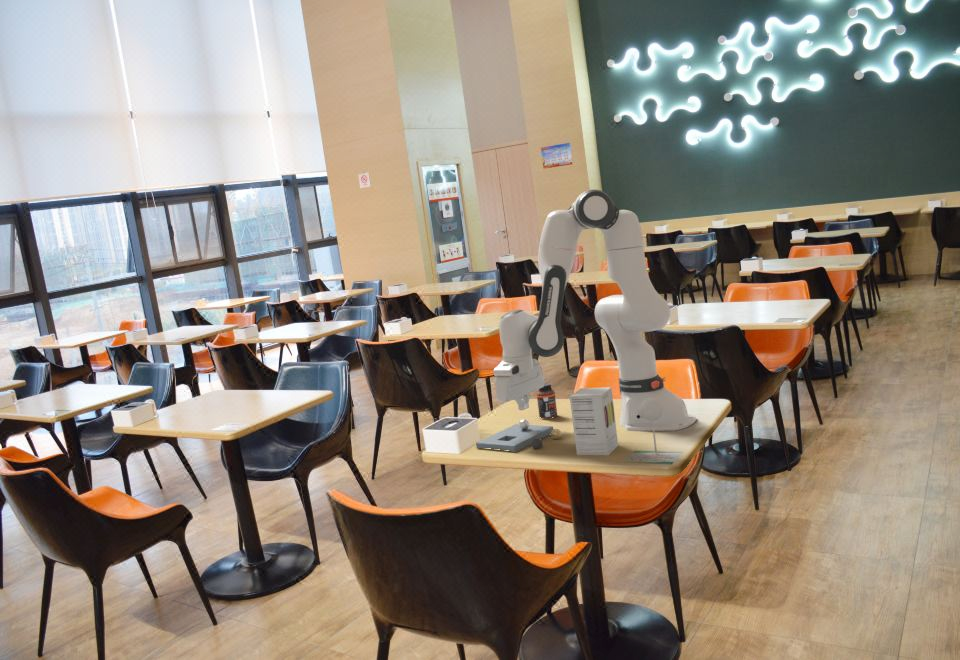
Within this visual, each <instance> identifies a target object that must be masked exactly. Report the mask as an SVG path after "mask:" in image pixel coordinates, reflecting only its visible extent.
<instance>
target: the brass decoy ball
mask: <svg viewBox="0 0 960 660" xmlns="http://www.w3.org/2000/svg"><path fill="white" fill-rule="evenodd" d="M562 435H563V434H562V430H560V429H559V428H553V430H552V432H551V435H550V437H551V439H553V440H560V439H561V438H562Z"/></svg>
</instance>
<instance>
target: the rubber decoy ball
mask: <svg viewBox="0 0 960 660" xmlns="http://www.w3.org/2000/svg"><path fill="white" fill-rule="evenodd" d="M543 445H544V443H543V441H542V439H541V440H540V439H534V440H533V441H532V444H531V448H532V449H533V448H534V449H533V450H540V449H542V448H543ZM539 448H540V449H539Z"/></svg>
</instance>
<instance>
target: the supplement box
mask: <svg viewBox="0 0 960 660" xmlns="http://www.w3.org/2000/svg"><path fill="white" fill-rule="evenodd" d="M613 396H614V395H613V390H612V387H610V386H609V387H608V386H607V387H585V388H579V389H578V390H577V391H575V392H574V393H573V394H571V395H570V396H569V401H570V410H571V418H572V426H573V435H574V442H575V451H576V455H578V456H610V454H611V453H613V452H614V451H615V450H616V449H617V447H618V446H619V442H618V433H617V423H616V414H615V408H614V407H615V406H614V397H613Z"/></svg>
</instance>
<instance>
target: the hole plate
mask: <svg viewBox="0 0 960 660" xmlns="http://www.w3.org/2000/svg"><path fill="white" fill-rule="evenodd" d="M552 430H554V426H552V425H549V426H548V425H535V424H529V428H528V429H526V430H522V429H520V427H519V423H518V424H517V423H515V424H513V425H511V426H509V427H507V428H505V429H502V430H499V432H496V433H494V434H492V435H490V436H488V437H485V438H484V439H481V440H479V441H478V442H476V443H475V445H476V449H477V448H491V449H500V450H509V451H517V450H519V449H521V448H523V447H525V448H527V447H529V446H531V445H532V441H533V440H534V439H541V440H543V439H544V437H545V438H547V437H549V436H551V435H550V434H551V432H552ZM548 435H549V436H548ZM546 436H547V437H546ZM542 438H543V439H542ZM530 444H531V445H530ZM528 445H529V446H528ZM526 446H527V447H526ZM523 449H524V448H523ZM521 450H522V449H521ZM519 451H520V450H519ZM517 452H518V451H517Z"/></svg>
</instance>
